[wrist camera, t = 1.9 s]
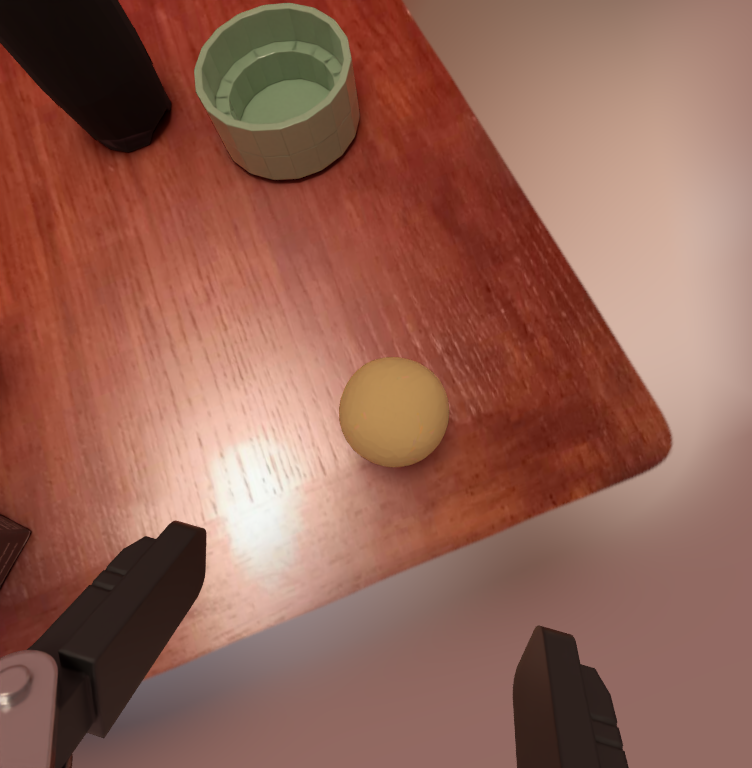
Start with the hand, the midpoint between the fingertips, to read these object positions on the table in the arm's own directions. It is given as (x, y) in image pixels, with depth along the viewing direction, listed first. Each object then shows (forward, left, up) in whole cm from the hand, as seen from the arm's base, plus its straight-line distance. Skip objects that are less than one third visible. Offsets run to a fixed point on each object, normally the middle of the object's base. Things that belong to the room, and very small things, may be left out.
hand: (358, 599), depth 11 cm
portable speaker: (+40, -20, -23) cm, 50 cm away
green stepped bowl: (+26, -26, -22) cm, 43 cm away
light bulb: (+4, -7, -23) cm, 24 cm away
